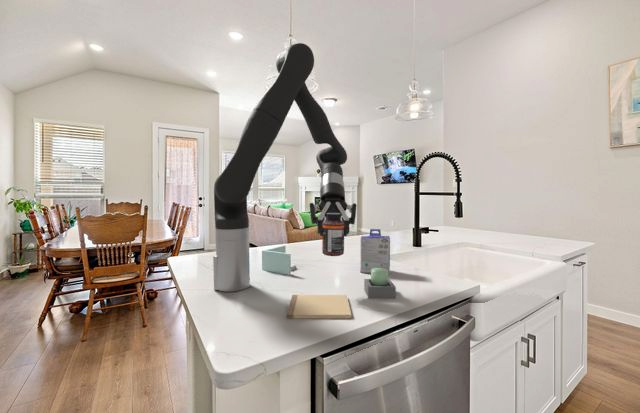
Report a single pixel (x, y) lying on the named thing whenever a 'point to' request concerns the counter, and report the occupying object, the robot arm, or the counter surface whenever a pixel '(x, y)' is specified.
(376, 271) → the button
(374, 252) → the ink cartridge box
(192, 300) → the counter surface
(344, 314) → the sketchbook
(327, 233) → the supplement bottle
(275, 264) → the l-shaped corner panel
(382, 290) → the button housing
